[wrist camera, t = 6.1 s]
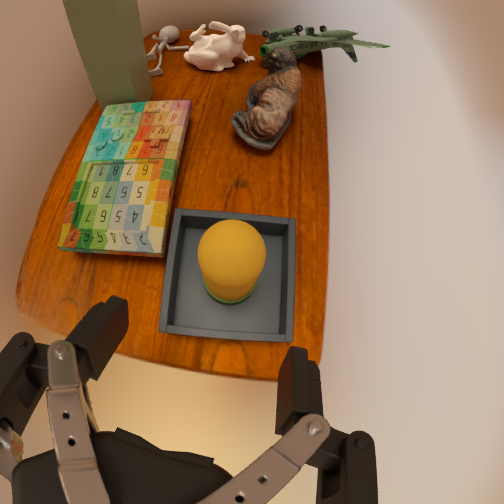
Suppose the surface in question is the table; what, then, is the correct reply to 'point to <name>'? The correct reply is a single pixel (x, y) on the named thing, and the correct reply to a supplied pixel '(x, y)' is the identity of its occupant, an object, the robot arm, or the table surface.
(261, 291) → the basket
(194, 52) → the rabbit figurine
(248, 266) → the corn toy
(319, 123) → the table surface
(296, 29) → the airplane
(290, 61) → the cat statue
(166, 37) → the figurine
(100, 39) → the plinth
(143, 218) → the puzzle game
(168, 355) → the table surface
